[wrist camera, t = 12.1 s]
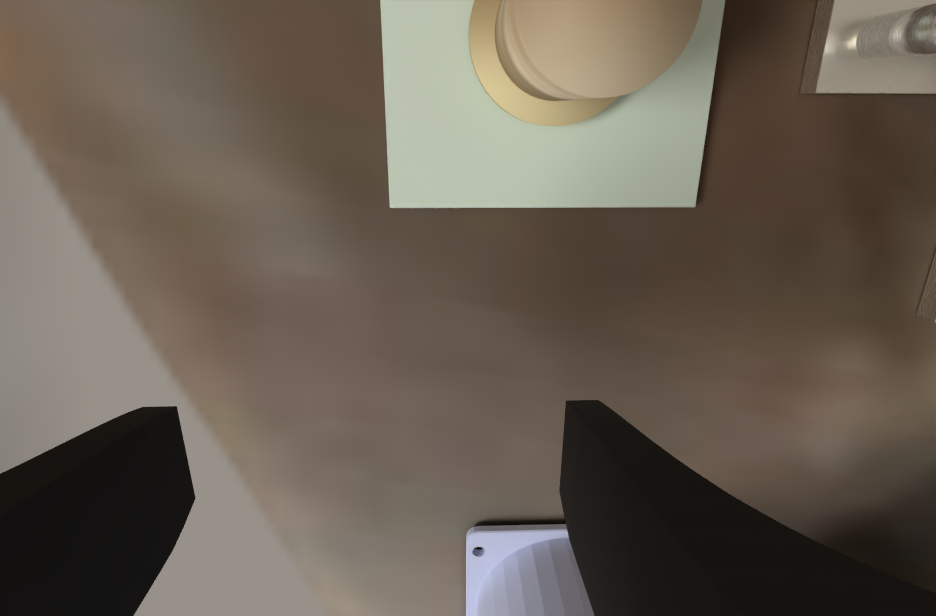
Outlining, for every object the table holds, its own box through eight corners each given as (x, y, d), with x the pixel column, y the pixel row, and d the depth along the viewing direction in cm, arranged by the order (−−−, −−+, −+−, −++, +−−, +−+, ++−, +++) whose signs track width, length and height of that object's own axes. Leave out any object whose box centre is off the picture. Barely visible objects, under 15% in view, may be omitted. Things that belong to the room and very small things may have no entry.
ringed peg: (628, 125, 17) (718, 134, 11) (468, 125, 17) (478, 133, 11) (647, -63, 15) (762, -162, 10) (469, -65, 15) (481, -168, 10)
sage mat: (690, 205, 18) (695, 207, 18) (391, 205, 18) (389, 207, 18) (742, -163, 15) (749, -170, 15) (374, -170, 15) (372, -178, 14)
